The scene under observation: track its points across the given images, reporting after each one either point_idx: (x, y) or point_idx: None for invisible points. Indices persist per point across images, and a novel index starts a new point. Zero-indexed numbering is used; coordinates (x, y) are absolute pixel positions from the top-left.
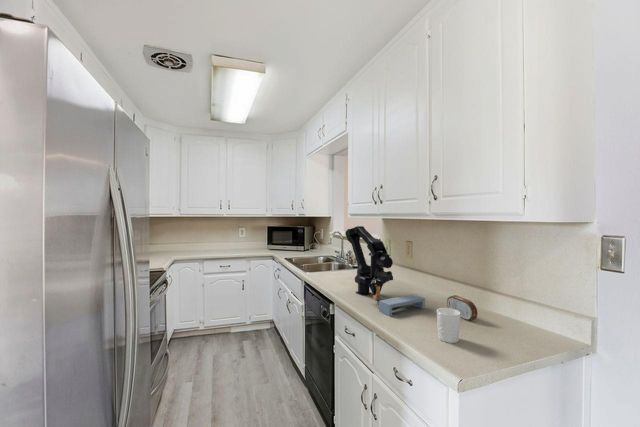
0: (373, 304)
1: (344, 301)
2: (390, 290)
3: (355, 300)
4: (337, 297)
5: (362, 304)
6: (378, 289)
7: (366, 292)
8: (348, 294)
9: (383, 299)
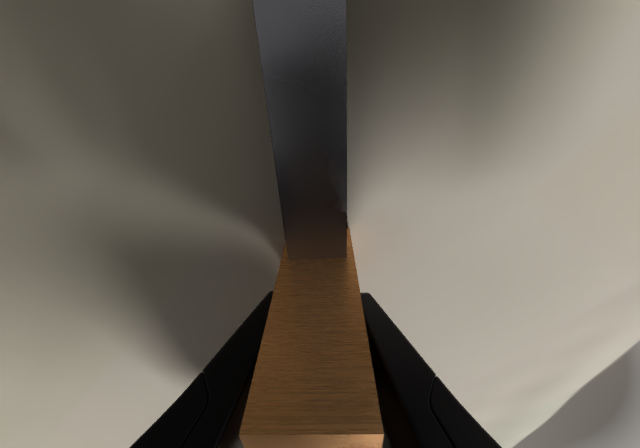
0: (513, 126)
1: (617, 344)
2: (13, 380)
3: (518, 325)
4: (544, 416)
5: (610, 201)
6: (307, 356)
7: None
8: None
9: (345, 104)
